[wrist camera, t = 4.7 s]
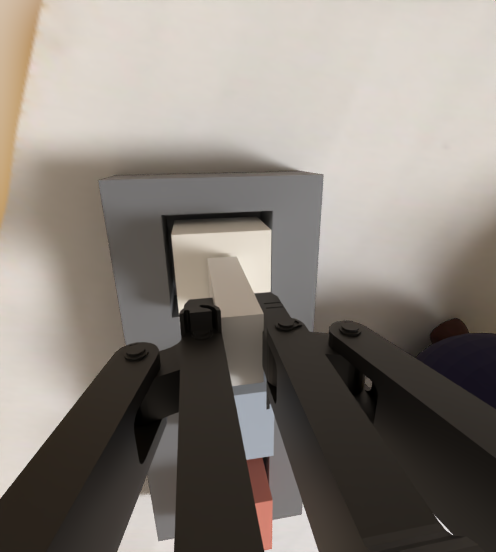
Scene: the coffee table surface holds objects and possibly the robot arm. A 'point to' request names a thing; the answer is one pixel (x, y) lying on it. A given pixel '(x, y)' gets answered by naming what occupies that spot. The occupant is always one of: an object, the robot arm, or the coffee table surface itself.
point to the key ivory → (219, 253)
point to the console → (162, 284)
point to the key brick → (262, 499)
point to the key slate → (255, 420)
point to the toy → (464, 358)
